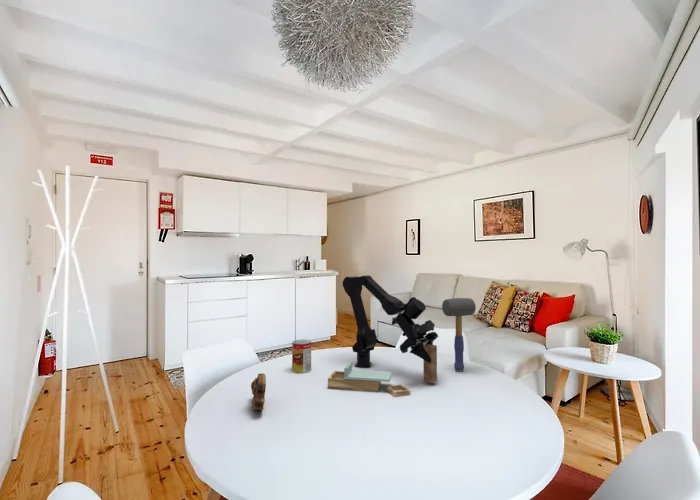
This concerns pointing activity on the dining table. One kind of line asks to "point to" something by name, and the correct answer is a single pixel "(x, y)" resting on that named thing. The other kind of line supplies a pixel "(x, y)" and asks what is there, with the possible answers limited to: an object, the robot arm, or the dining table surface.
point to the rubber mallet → (458, 324)
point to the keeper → (398, 393)
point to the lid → (366, 374)
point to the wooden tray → (351, 383)
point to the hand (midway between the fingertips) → (433, 361)
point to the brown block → (430, 364)
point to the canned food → (301, 356)
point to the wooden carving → (259, 391)
